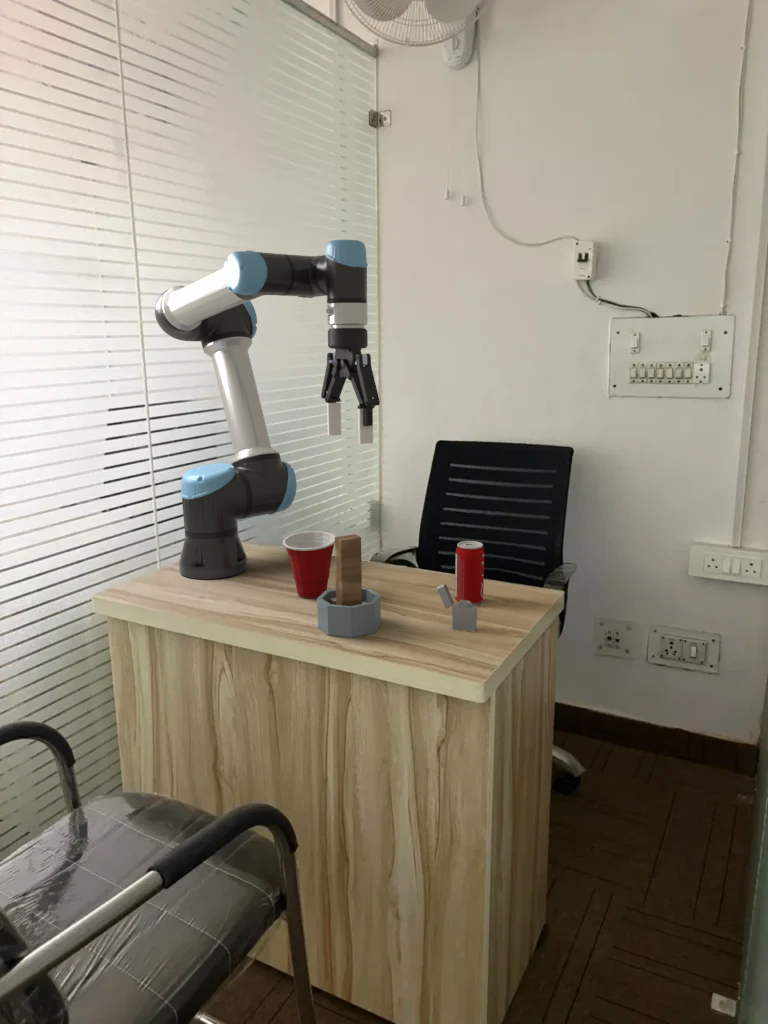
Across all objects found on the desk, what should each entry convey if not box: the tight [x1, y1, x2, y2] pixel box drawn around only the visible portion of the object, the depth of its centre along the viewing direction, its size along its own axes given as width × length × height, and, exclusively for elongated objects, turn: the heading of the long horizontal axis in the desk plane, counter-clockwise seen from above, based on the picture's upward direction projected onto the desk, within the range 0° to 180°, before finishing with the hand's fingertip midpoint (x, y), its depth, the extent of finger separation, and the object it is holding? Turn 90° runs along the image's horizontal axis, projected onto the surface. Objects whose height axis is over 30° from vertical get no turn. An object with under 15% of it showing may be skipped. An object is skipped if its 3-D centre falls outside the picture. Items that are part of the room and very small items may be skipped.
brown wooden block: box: [334, 533, 363, 606], centre depth 133 cm, size 2×4×16 cm, turn 120°
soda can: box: [454, 540, 485, 606], centre depth 145 cm, size 6×6×12 cm
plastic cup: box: [282, 530, 337, 599], centre depth 150 cm, size 11×11×12 cm
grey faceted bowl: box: [316, 587, 382, 639], centre depth 134 cm, size 11×11×6 cm
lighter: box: [436, 582, 478, 632], centre depth 132 cm, size 7×2×8 cm, turn 68°
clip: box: [329, 597, 366, 606], centre depth 134 cm, size 6×5×4 cm
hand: (349, 439), depth 145 cm, fingers open, 13 cm apart
